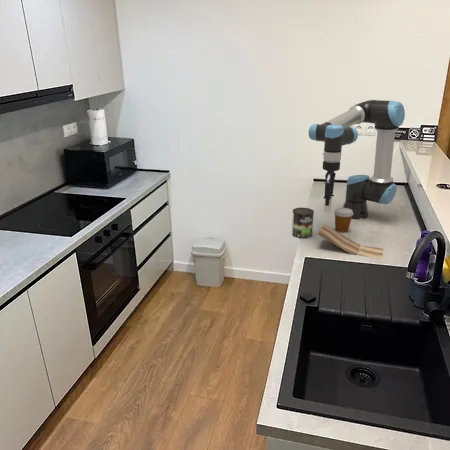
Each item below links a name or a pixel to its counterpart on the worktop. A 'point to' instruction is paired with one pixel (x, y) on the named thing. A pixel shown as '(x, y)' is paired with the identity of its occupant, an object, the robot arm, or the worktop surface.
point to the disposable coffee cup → (342, 219)
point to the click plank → (339, 240)
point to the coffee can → (302, 222)
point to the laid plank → (371, 252)
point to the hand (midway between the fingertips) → (327, 210)
